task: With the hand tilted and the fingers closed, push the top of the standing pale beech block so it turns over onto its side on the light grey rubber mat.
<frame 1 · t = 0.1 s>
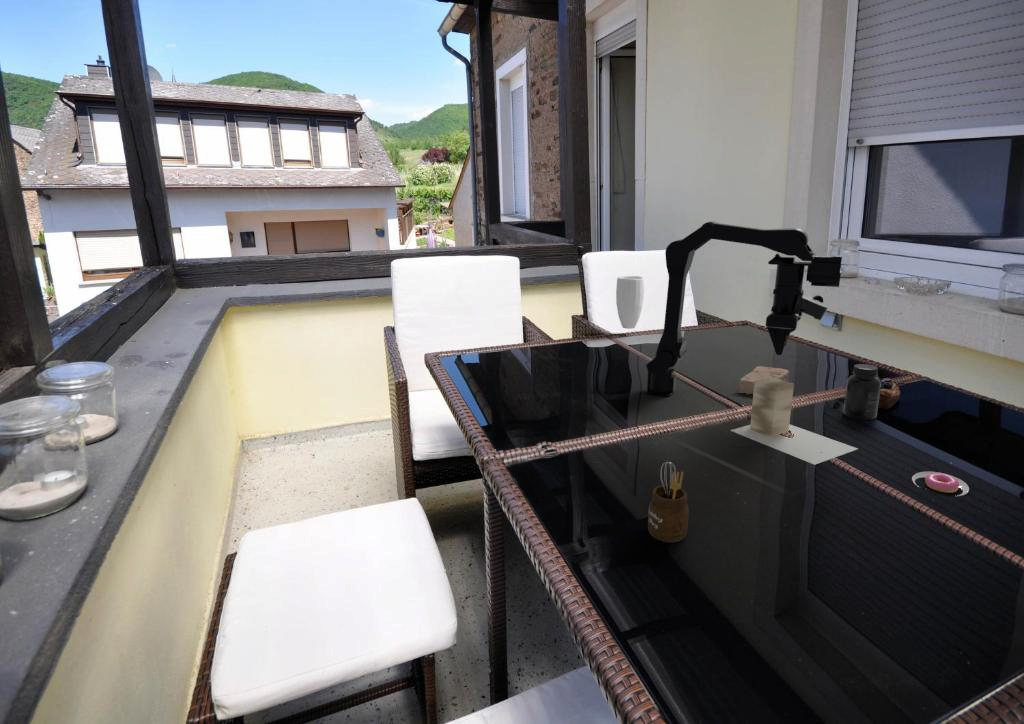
hand: (781, 350, 139), 15 cm above the table, tool pointing down, fingers open, 9 cm apart
cup: (628, 335, 220), on the table
utensil holder: (667, 534, 91), on the table
supplement bottle: (858, 416, 137), on the table
pastry: (871, 401, 148), on the table
mat: (791, 441, 123), on the table
block: (768, 430, 128), point 1 cm above the table, touching mat
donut: (938, 485, 106), on the table
brick: (763, 391, 157), on the table
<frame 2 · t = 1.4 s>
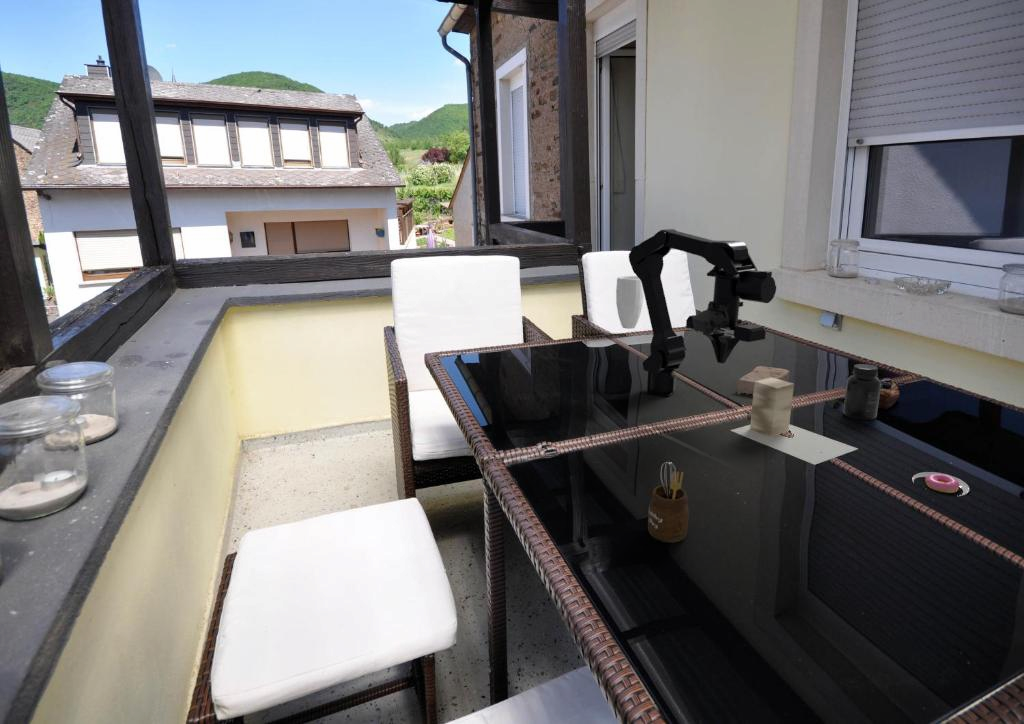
hand: (721, 362, 139), 12 cm above the table, tool pointing down, fingers closed
nothing on the table moved.
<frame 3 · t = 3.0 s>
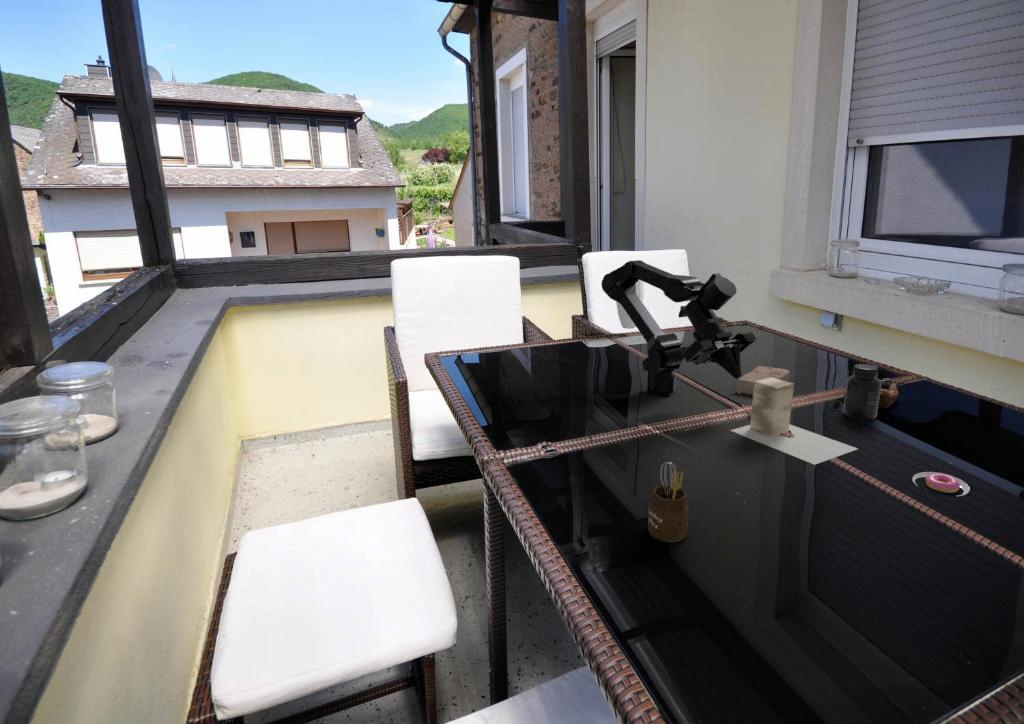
hand: (738, 377, 133), 10 cm above the table, tool tilted 45°, fingers closed
nothing on the table moved.
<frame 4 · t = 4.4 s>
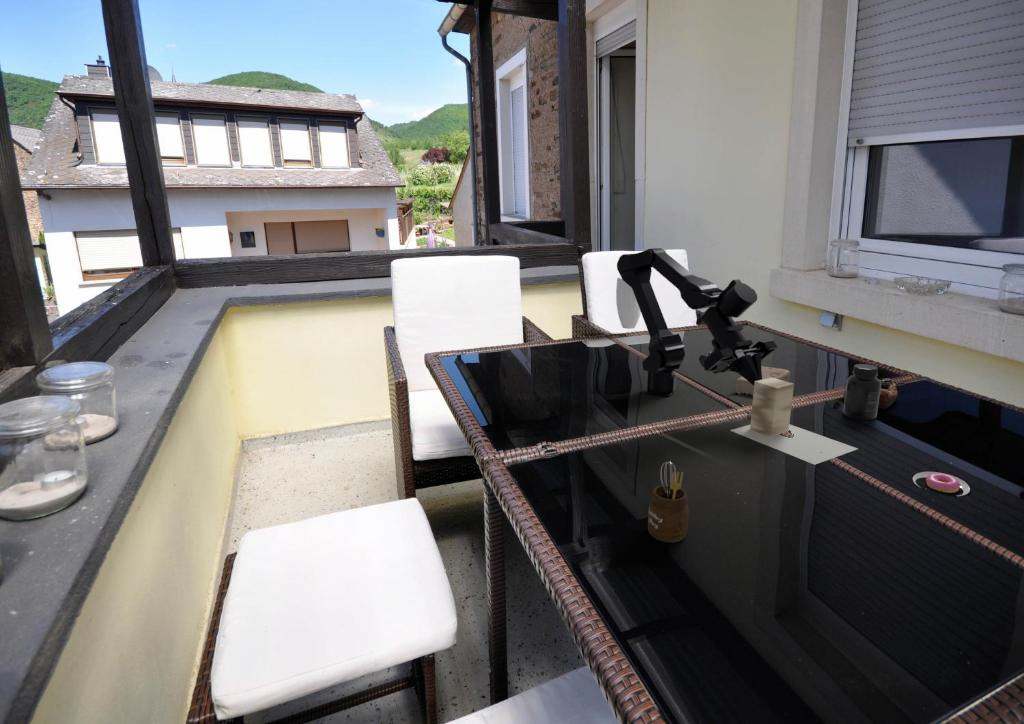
hand: (760, 387, 128), 10 cm above the table, tool tilted 45°, fingers closed
nothing on the table moved.
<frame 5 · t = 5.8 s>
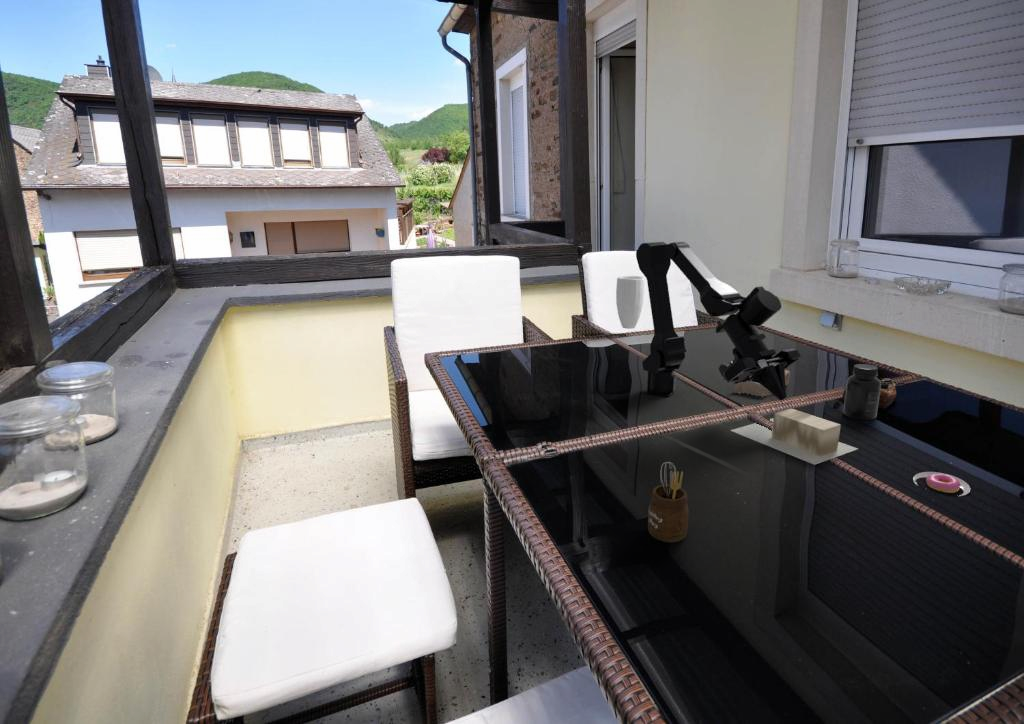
hand: (783, 399, 123), 9 cm above the table, tool tilted 45°, fingers closed
block: (781, 422, 125), point 3 cm above the table, tilted 90°, touching mat
everything else where it was.
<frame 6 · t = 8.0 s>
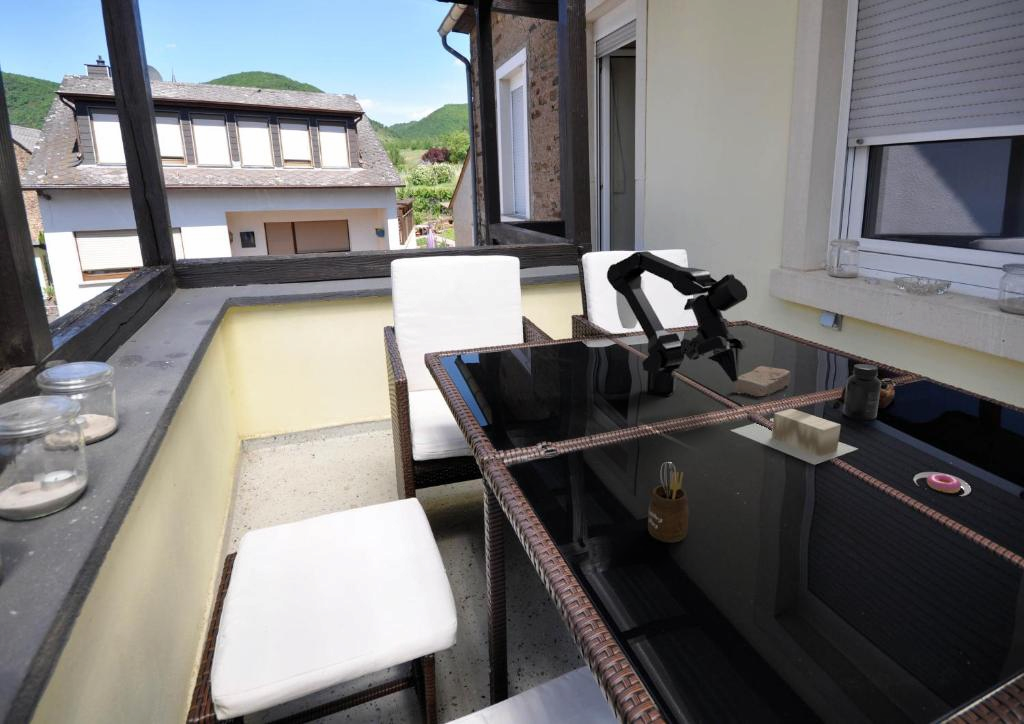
hand: (735, 381, 135), 9 cm above the table, tool tilted 35°, fingers closed
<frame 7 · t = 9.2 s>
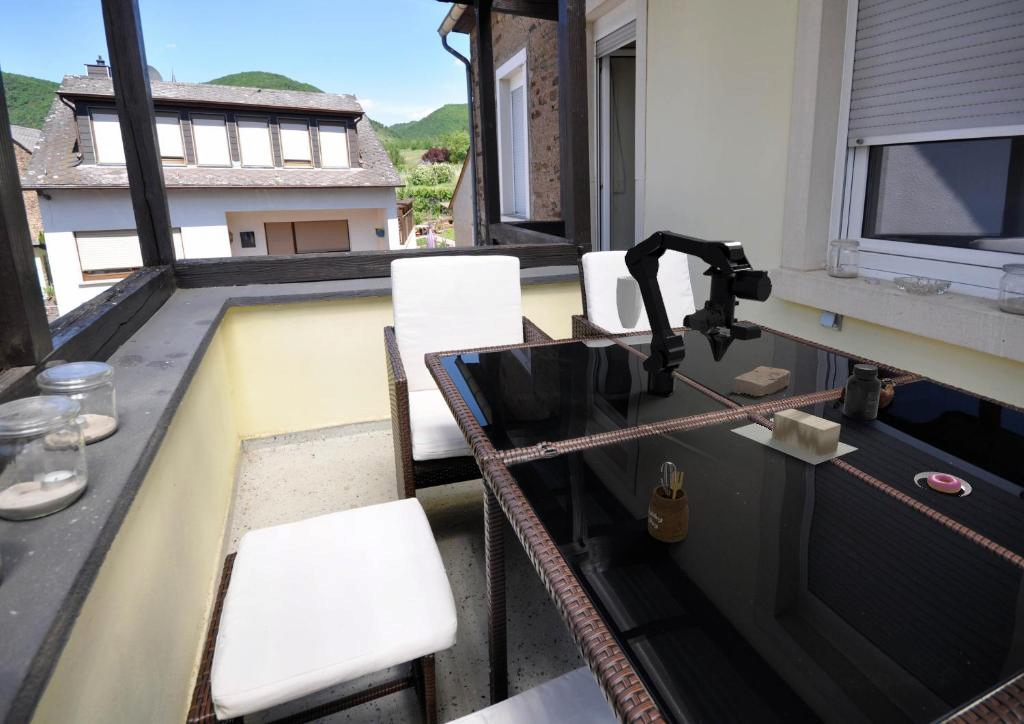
hand: (717, 361, 140), 12 cm above the table, tool pointing down, fingers closed
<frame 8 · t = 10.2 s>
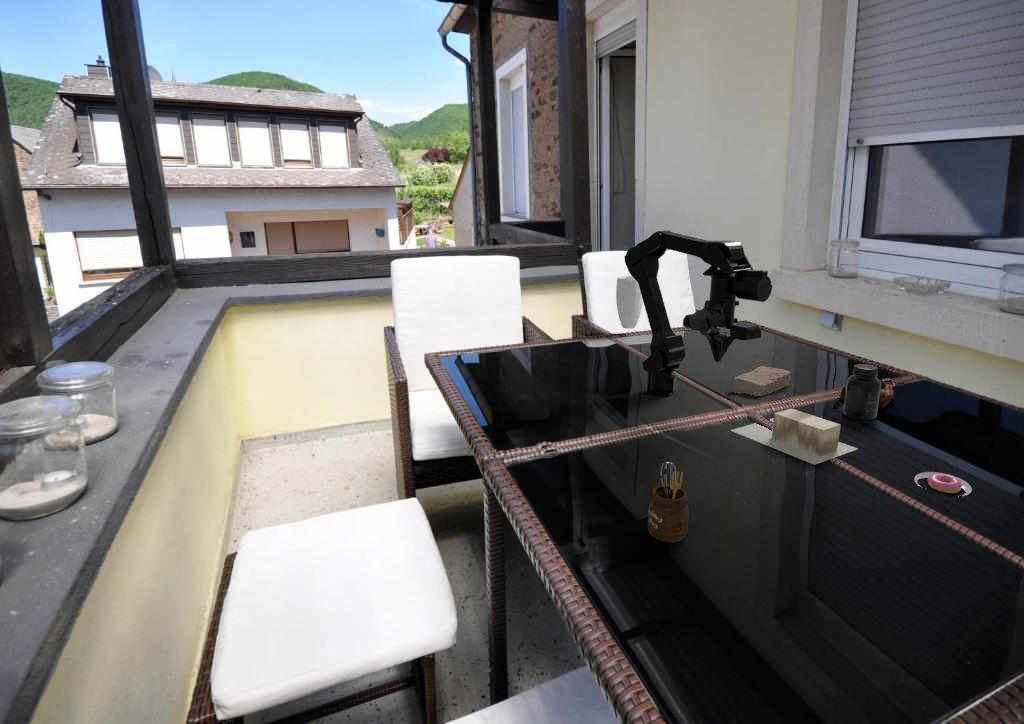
hand: (717, 361, 140), 12 cm above the table, tool pointing down, fingers closed
at the end: block tilted 90°; block 2.8 cm from the mat (horizontally); block touching mat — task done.
